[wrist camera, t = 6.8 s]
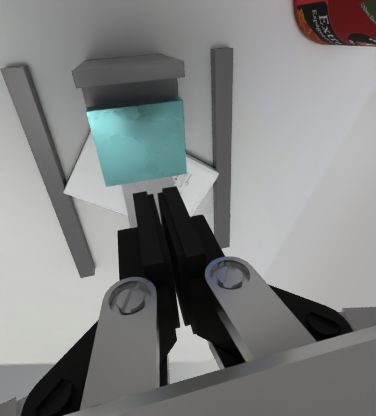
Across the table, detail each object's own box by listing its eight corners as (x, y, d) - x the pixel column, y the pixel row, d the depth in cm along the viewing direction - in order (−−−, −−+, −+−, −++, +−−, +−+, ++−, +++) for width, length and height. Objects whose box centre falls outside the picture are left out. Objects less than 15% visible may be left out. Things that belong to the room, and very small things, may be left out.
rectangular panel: (87, 106, 17) (86, 112, 16) (178, 95, 17) (182, 100, 17) (135, 294, 27) (137, 304, 26) (191, 281, 28) (194, 291, 27)
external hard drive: (99, 107, 23) (215, 168, 29) (64, 186, 26) (176, 228, 32) (99, 111, 22) (220, 174, 28) (62, 194, 25) (179, 236, 30)
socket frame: (5, 67, 21) (-51, 83, 14) (228, 47, 23) (278, 52, 16) (81, 270, 32) (73, 337, 25) (226, 240, 35) (255, 293, 28)
